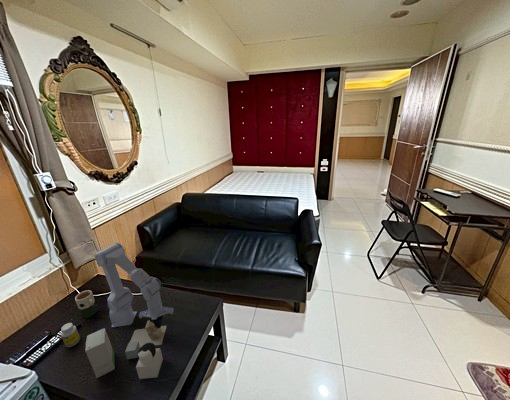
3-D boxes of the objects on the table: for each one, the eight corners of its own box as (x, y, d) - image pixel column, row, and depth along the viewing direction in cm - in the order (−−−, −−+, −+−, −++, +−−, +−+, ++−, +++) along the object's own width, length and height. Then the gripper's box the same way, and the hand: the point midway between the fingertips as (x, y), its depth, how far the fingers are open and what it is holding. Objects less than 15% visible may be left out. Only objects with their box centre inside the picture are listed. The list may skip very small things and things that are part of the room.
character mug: (76, 316, 113) (68, 297, 108) (90, 306, 119) (83, 287, 115) (90, 322, 109) (83, 302, 105) (103, 311, 116) (97, 292, 111)
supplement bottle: (64, 349, 96) (57, 333, 93) (67, 339, 101) (60, 324, 97) (78, 344, 98) (72, 328, 95) (81, 334, 103) (75, 319, 100)
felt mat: (126, 350, 95) (126, 349, 95) (135, 330, 105) (135, 329, 104) (161, 344, 97) (161, 344, 97) (166, 325, 107) (166, 325, 106)
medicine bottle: (146, 360, 91) (140, 340, 87) (163, 359, 91) (158, 339, 87) (139, 379, 84) (132, 358, 80) (157, 377, 85) (152, 356, 81)
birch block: (151, 340, 99) (144, 328, 96) (153, 332, 103) (147, 320, 100) (159, 337, 100) (153, 325, 97) (161, 330, 103) (156, 318, 100)
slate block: (127, 359, 91) (124, 351, 90) (131, 350, 95) (128, 342, 93) (137, 358, 92) (135, 350, 90) (140, 349, 96) (138, 341, 94)
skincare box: (114, 369, 88) (105, 342, 82) (95, 379, 84) (84, 352, 79) (114, 352, 94) (105, 326, 89) (96, 361, 91) (86, 335, 86)
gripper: (134, 313, 91) (140, 336, 95) (169, 308, 93) (173, 331, 97) (139, 300, 97) (145, 322, 102) (172, 296, 99) (176, 318, 104)
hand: (159, 326), depth 100 cm, fingers closed
